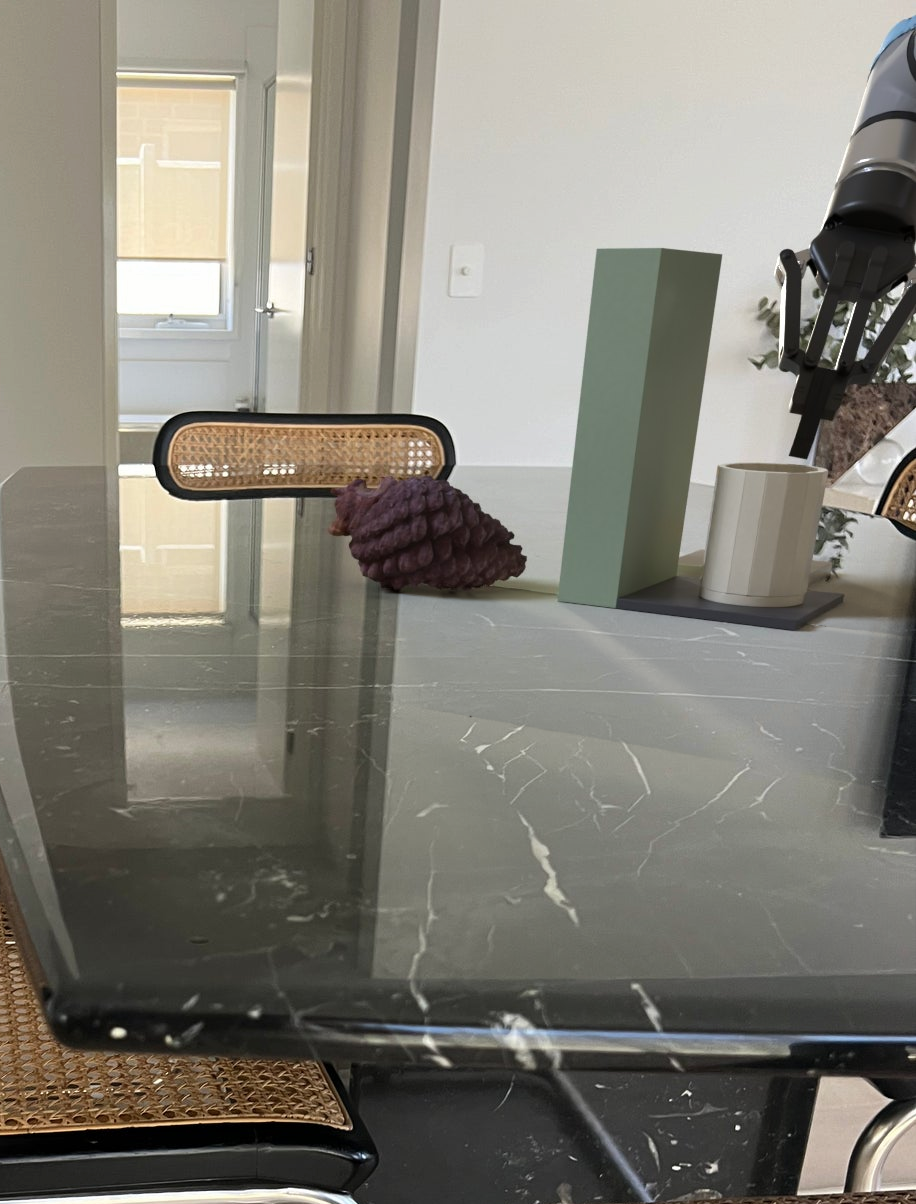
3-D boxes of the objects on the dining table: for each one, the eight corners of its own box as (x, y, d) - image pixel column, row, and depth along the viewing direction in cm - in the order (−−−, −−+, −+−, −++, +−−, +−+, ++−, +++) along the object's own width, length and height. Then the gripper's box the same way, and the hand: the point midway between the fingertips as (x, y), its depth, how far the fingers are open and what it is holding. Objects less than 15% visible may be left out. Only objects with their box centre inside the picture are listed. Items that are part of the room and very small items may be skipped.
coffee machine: (842, 603, 120) (909, 252, 109) (795, 630, 110) (864, 245, 99) (620, 578, 130) (661, 254, 120) (557, 601, 120) (596, 248, 109)
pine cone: (519, 579, 129) (555, 487, 121) (493, 653, 123) (530, 562, 115) (329, 515, 130) (353, 420, 122) (296, 585, 125) (319, 491, 117)
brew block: (830, 575, 133) (836, 541, 132) (800, 590, 125) (806, 555, 124) (699, 562, 139) (704, 529, 138) (663, 575, 132) (667, 541, 131)
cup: (815, 596, 118) (839, 467, 114) (787, 611, 112) (811, 475, 108) (717, 585, 123) (736, 460, 119) (685, 599, 117) (704, 467, 113)
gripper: (948, 242, 123) (873, 489, 120) (790, 217, 127) (713, 457, 124) (976, 177, 116) (897, 439, 113) (808, 153, 120) (726, 406, 116)
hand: (801, 448), depth 118 cm, fingers closed
